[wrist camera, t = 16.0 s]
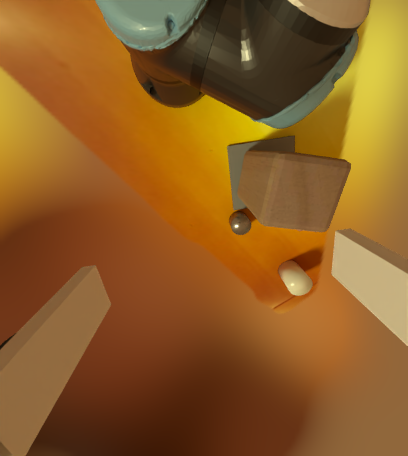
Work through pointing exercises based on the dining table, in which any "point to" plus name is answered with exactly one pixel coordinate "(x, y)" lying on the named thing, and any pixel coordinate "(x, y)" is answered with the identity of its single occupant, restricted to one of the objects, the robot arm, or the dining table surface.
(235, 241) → the dining table surface
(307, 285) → the cream rounded cylinder
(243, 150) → the mat
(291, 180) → the wooden block
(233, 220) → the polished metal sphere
